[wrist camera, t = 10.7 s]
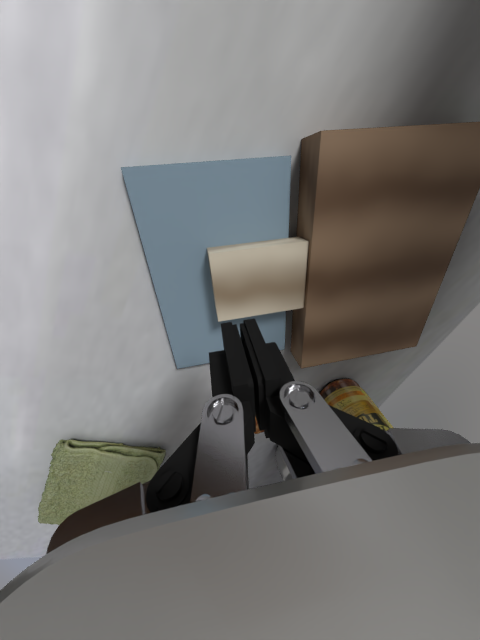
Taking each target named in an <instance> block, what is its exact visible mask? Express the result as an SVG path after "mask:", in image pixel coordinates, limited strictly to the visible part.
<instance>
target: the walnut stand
mask: <svg viewBox="0 0 480 640" xmlns="http://www.w3.org/2000/svg"><path fill="white" fill-rule="evenodd" d="M479 188H480V122H467V123H449V124H432V125H414V126H397V127H379V128H361V129H344V130H326V131H320V132H317V133H315V134H313V135H310V136H308V137H305V138H303V139H302V142H301V161H300V180H299V199H298V219H297V237H300V238H303V239H305V240H307V241H309V244H308V257H307V271H306V284H305V297H304V308H300V309H294V310H293V315H292V335H291V353H292V355H293V356H294V358H295V359H296V361H297V363H298V364H299V366H300V368H306V367H312V366H317V365H322V364H327V363H332V362H337V361H342V360H348V359H353V358H358V357H363V356H368V355H373V354H379V353H384V352H389V351H394V350H399V349H404V348H410V347H415V346H417V343H418V341H419V338H420V336H421V333H422V331H423V328H424V326H425V323H426V321H427V318H428V316H429V313H430V311H431V308H432V306H433V303H434V301H435V298H436V296H437V293H438V291H439V288H440V286H441V283H442V281H443V278H444V276H445V273H446V271H447V268H448V266H449V263H450V261H451V258H452V256H453V253H454V251H455V248H456V246H457V243H458V241H459V238H460V236H461V233H462V230H463V228H464V225H465V223H466V220H467V218H468V215H469V213H470V210H471V208H472V205H473V203H474V200H475V198H476V195H477V193H478V190H479Z"/></svg>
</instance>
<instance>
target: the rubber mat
mask: <svg viewBox="0 0 480 640" xmlns="http://www.w3.org/2000/svg"><path fill="white" fill-rule="evenodd" d="M121 170H122V174H123V177H124V181H125V184H126V188H127V191H128V195H129V199H130V202H131V206H132V209H133V213H134V216H135V220H136V223H137V227H138V231H139V234H140V238H141V241H142V245H143V248H144V252H145V256H146V259H147V263H148V266H149V270H150V273H151V277H152V281H153V284H154V288H155V291H156V295H157V298H158V302H159V305H160V309H161V313H162V316H163V320H164V323H165V327H166V330H167V334H168V338H169V341H170V345H171V348H172V352H173V355H174V359H175V363H176V366H177V369H179V368H184V367H190V366H195V365H201V364H206V363H210V362H209V352H215V351H221V350H224V346H223V339H222V331H221V323H227V322H232V325H234V324H237V328H238V331H239V334H240V323H243V320H247V319H255V320H256V322H257V324H258V327H259V329H260V331H261V334H262V336H263V338H264V341H265V343H271V342H275V343H276V344H277V346H278V348H279V350H284V349H285V322H286V311H281V312H275V313H269V314H263V315H257V316H251V317H244V318H238V319H232V320H226V321H220V322H218V318H217V313H216V307H215V300H214V294H213V287H212V280H211V273H210V266H209V259H208V253H207V248H209V247H217V246H226V245H234V244H242V243H250V242H259V241H267V240H275V239H283V238H288V236H289V207H290V178H291V156H278V157H264V158H249V159H235V160H221V161H206V162H192V163H178V164H164V165H149V166H135V167H121ZM240 338H241V336H240Z"/></svg>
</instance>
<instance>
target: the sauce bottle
mask: <svg viewBox="0 0 480 640" xmlns="http://www.w3.org/2000/svg"><path fill="white" fill-rule="evenodd" d="M319 394H320V395H321V396H322V398H323V399H324V400H325V401H326V403H327V404H328V405H330V406H332V407H335V408H337V409H339V410H341V411H344V412H346V413H348V414H350V415H353V416H355V417H357V418H359V419H362V420H364V421H366V422H368V423H371V424H373V425H375V426H377V427H379V428H381V429H382V430H384V431H388V429H389V428H393V427H392V425H391V424H390V423H389V422H388V420H387V419H386V418H385V417H384V415H383V414H382V413H381V412H380V410H379V409H378V408H377V406H376V405H375V404H374V402H373V401H372V400H371V399H370V397H369V396H368V395H367V394H366V392H365V391H364V390H363V389H362V388H361V387H360V386H359V385H358V384H357V383H356V382H355V381H353V380H352V379H339V380H336V381H333V382H331V383H330V384H328V385H327V386H326V387H325V388H324V389H323V390H322V391H321V392H320V393H319Z"/></svg>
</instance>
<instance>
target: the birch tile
mask: <svg viewBox="0 0 480 640" xmlns="http://www.w3.org/2000/svg"><path fill="white" fill-rule="evenodd" d="M308 244H309V241H307V240H305V239H303V238H300V237H291V238H283V239H275V240H267V241H259V242H250V243H242V244H234V245H226V246H217V247H209V248H207V253H208V259H209V266H210V273H211V280H212V287H213V294H214V300H215V307H216V313H217V318H218V322H220V321H226V320H232V319H238V318H244V317H251V316H257V315H263V314H269V313H275V312H281V311H287V310H294V309H300V308H304V297H305V284H306V271H307V257H308Z"/></svg>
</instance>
